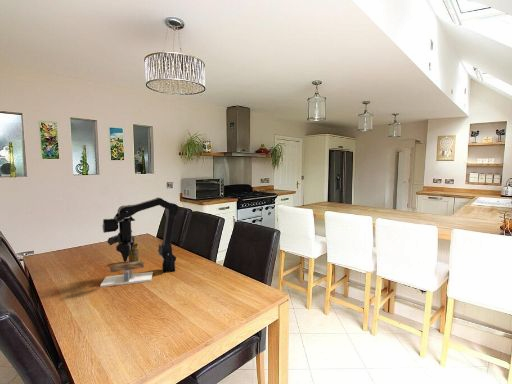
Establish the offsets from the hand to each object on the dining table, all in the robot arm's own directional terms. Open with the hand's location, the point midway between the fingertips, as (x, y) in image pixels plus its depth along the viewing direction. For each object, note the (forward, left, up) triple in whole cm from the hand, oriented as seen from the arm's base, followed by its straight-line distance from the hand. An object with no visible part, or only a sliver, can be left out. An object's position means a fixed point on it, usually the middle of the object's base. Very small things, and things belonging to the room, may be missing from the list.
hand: (126, 258), depth 147 cm
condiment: (+1, -28, -12) cm, 31 cm away
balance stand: (0, 0, -12) cm, 12 cm away
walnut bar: (0, 0, -6) cm, 6 cm away
